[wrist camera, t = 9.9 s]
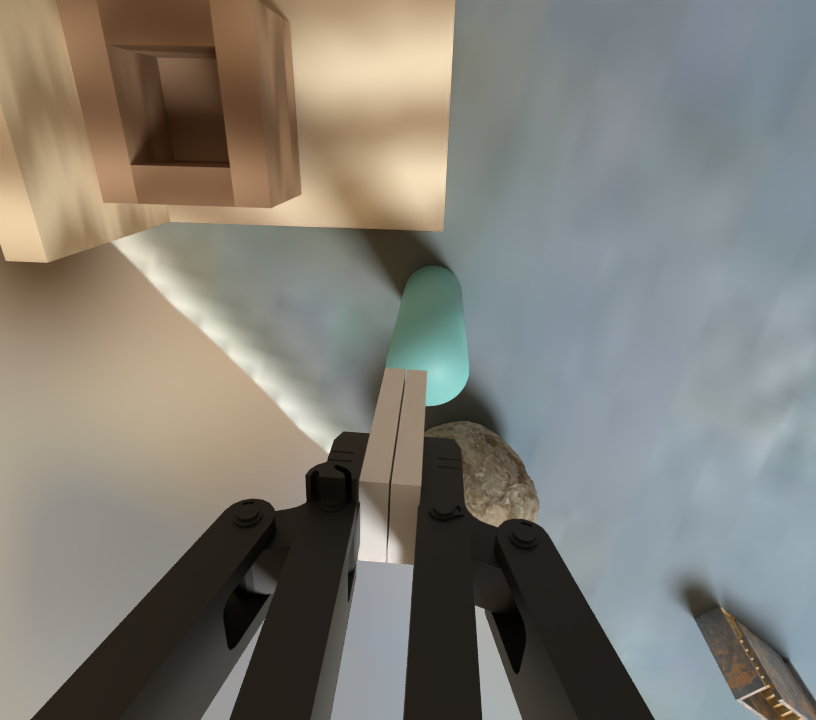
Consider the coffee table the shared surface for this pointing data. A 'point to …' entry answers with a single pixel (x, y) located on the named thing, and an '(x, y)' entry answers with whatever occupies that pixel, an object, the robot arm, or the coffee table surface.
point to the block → (186, 100)
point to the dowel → (432, 333)
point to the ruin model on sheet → (755, 670)
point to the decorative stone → (491, 474)
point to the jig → (315, 112)
